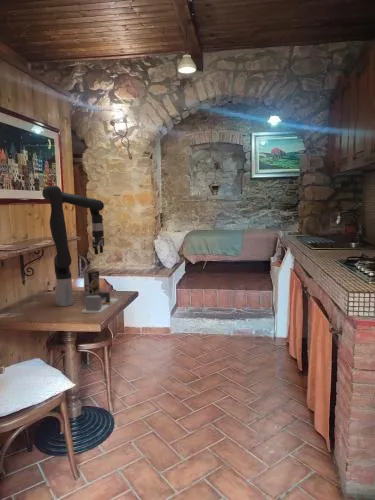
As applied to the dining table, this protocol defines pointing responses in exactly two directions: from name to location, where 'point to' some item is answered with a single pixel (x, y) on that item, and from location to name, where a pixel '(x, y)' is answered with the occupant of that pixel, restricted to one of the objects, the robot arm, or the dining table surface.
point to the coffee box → (91, 282)
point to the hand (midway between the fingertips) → (99, 253)
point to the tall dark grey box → (104, 297)
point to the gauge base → (96, 304)
